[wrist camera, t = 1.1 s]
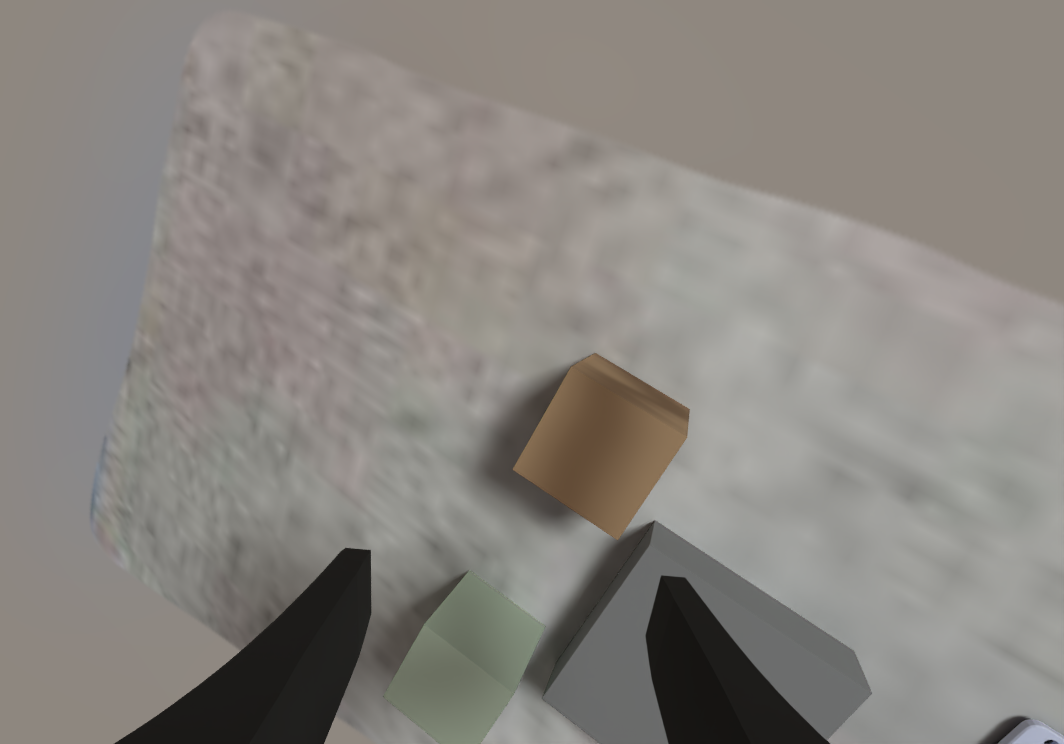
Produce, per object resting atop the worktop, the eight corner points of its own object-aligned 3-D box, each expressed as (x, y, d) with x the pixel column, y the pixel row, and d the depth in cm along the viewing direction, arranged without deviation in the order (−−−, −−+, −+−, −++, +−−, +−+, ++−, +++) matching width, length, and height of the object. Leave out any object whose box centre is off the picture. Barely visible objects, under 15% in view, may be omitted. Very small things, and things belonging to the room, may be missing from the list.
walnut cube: (689, 408, 24) (687, 437, 19) (633, 493, 25) (617, 540, 20) (595, 352, 24) (571, 366, 20) (546, 437, 26) (512, 469, 21)
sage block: (545, 625, 27) (513, 693, 23) (504, 688, 29) (465, 765, 24) (469, 569, 28) (424, 624, 24) (433, 633, 30) (382, 696, 25)
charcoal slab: (851, 644, 23) (872, 693, 20) (725, 782, 26) (728, 842, 23) (655, 516, 25) (650, 544, 22) (558, 657, 28) (541, 698, 25)
